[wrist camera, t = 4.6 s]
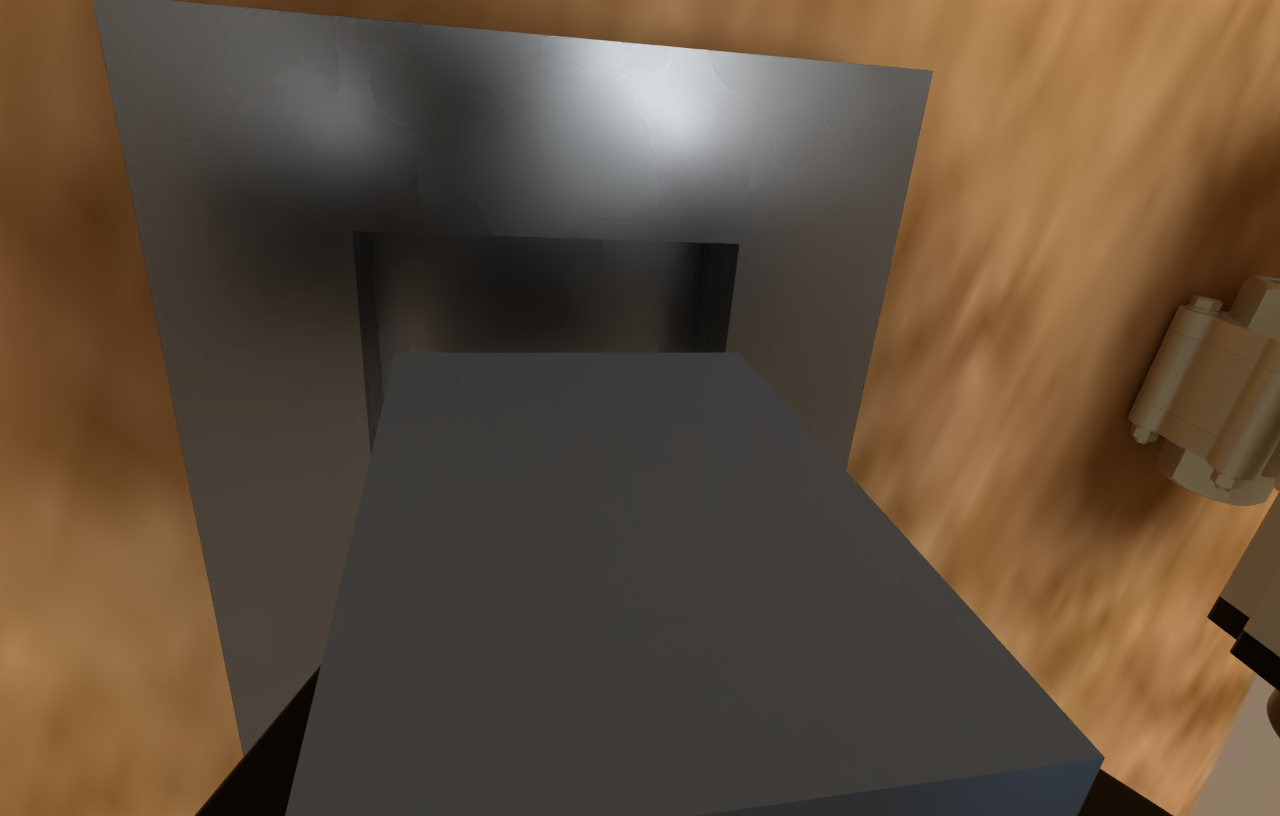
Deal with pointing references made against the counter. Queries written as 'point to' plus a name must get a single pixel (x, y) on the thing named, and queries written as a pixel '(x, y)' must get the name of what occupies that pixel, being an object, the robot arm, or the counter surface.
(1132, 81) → the counter surface
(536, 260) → the socket plate
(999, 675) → the slate gray peg
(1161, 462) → the pneumatic valve
